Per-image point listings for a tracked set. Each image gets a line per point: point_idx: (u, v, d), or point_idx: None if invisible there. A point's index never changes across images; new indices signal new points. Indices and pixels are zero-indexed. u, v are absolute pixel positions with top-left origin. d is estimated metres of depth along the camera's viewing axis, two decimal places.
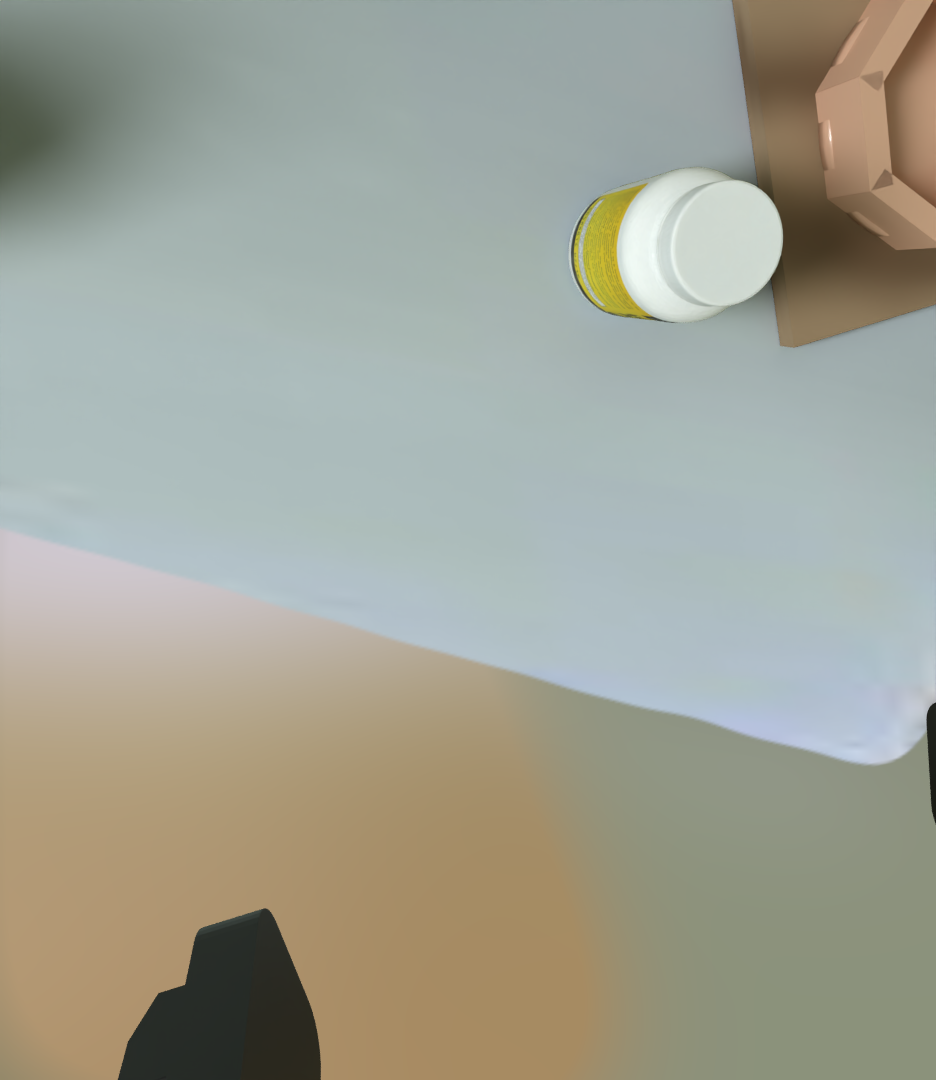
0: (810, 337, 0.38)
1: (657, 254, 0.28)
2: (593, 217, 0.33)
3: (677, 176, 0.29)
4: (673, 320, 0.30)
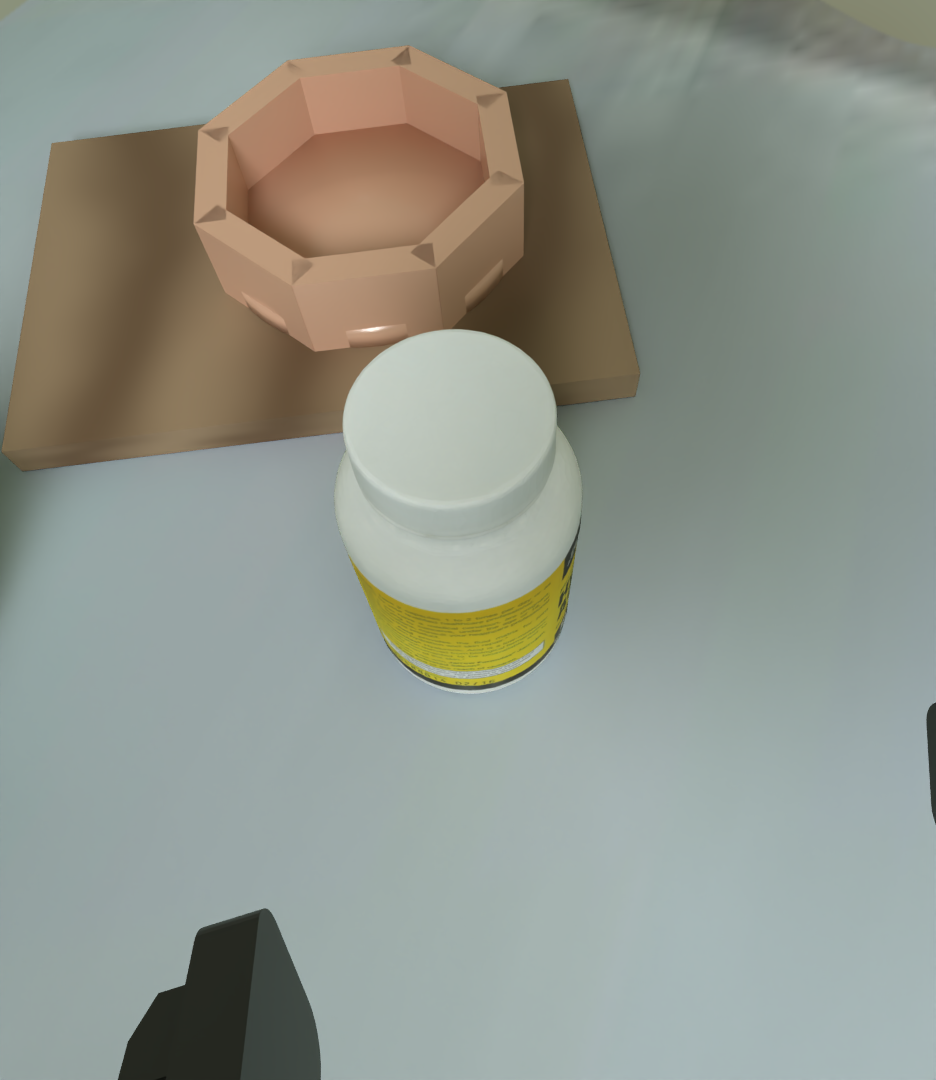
0: (627, 352, 0.26)
1: (451, 538, 0.15)
2: (402, 648, 0.21)
3: (341, 502, 0.17)
4: (575, 522, 0.17)
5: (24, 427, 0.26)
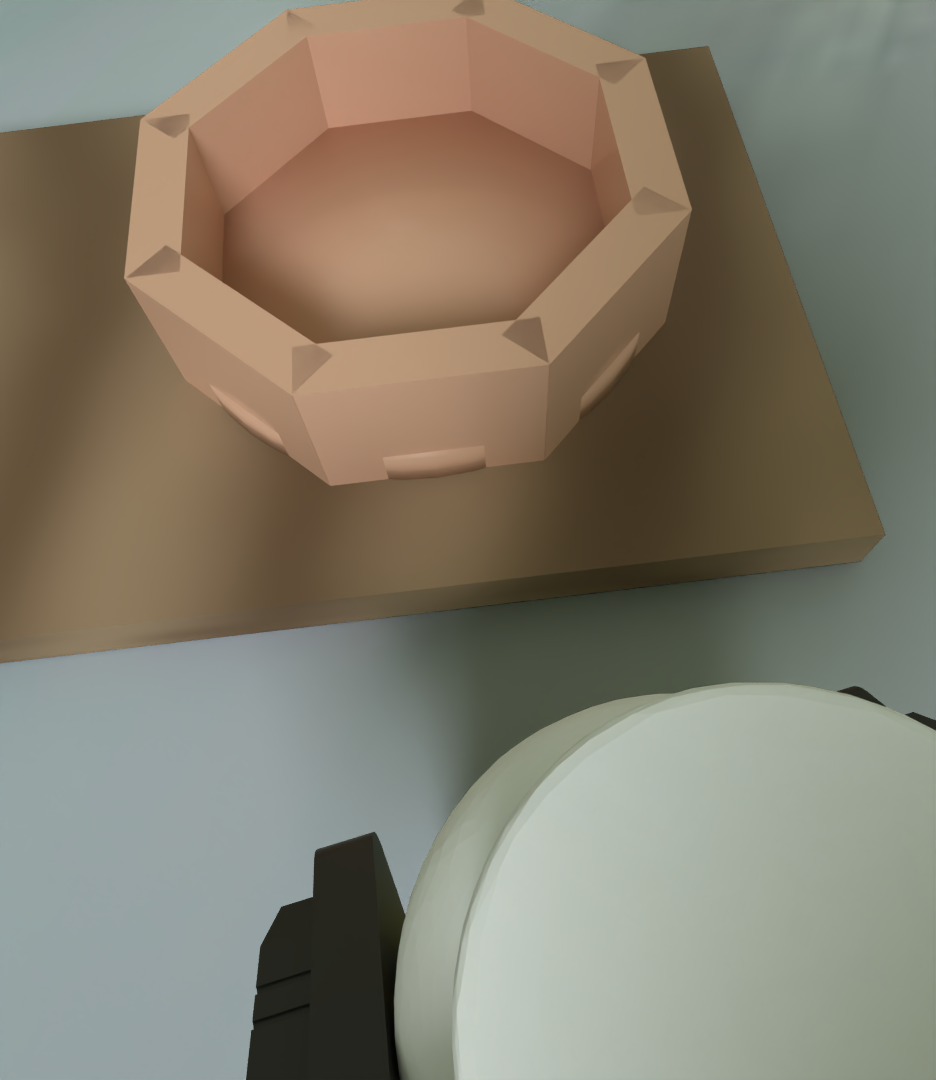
0: (858, 495, 0.15)
1: None
2: None
3: (417, 1074, 0.07)
4: None
5: None
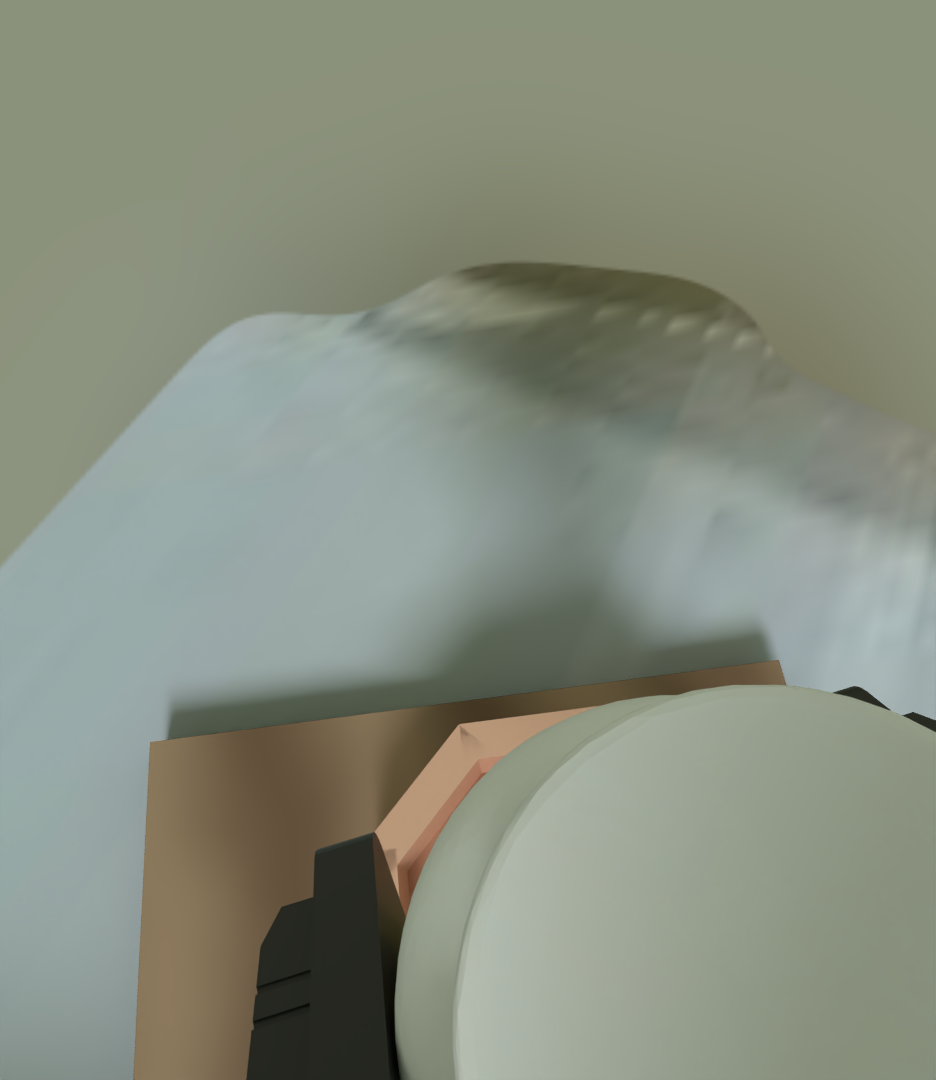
0: None
1: None
2: None
3: (417, 1075, 0.07)
4: None
5: None
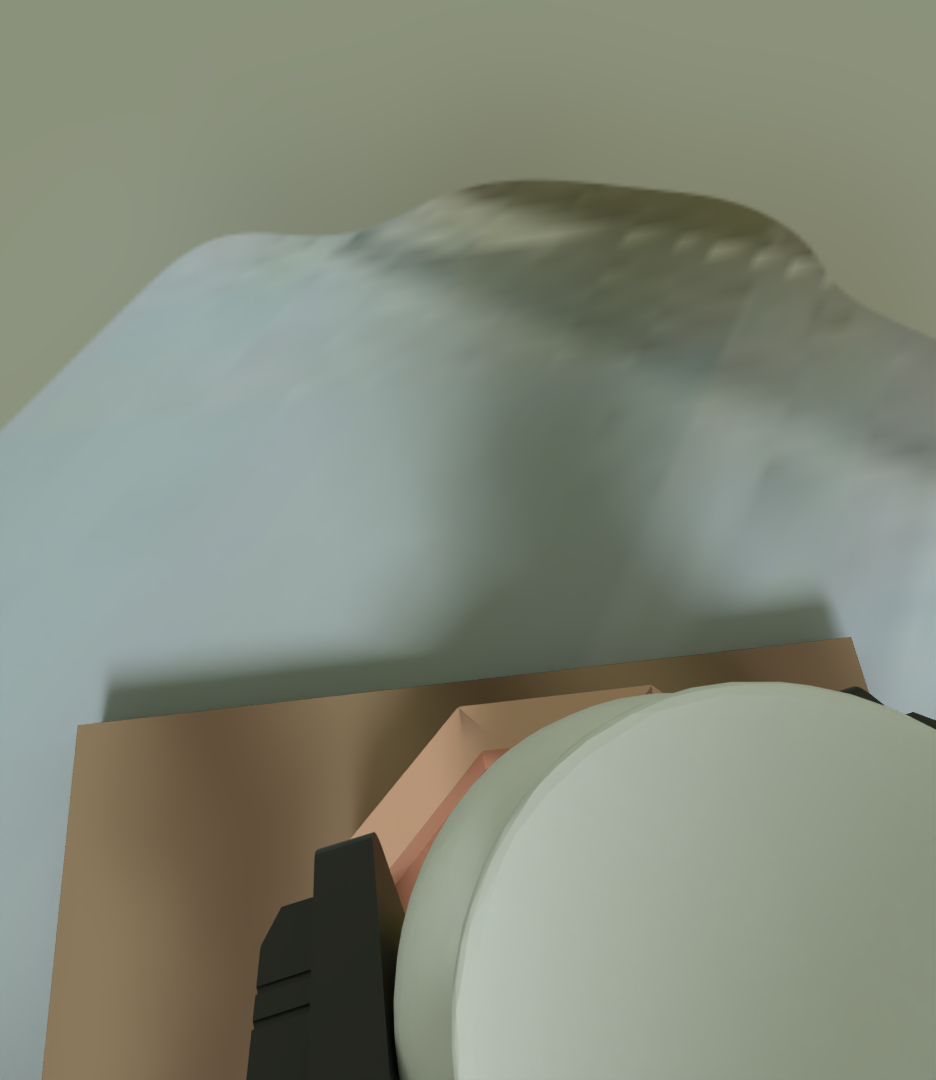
0: None
1: None
2: None
3: (416, 1072, 0.07)
4: None
5: None
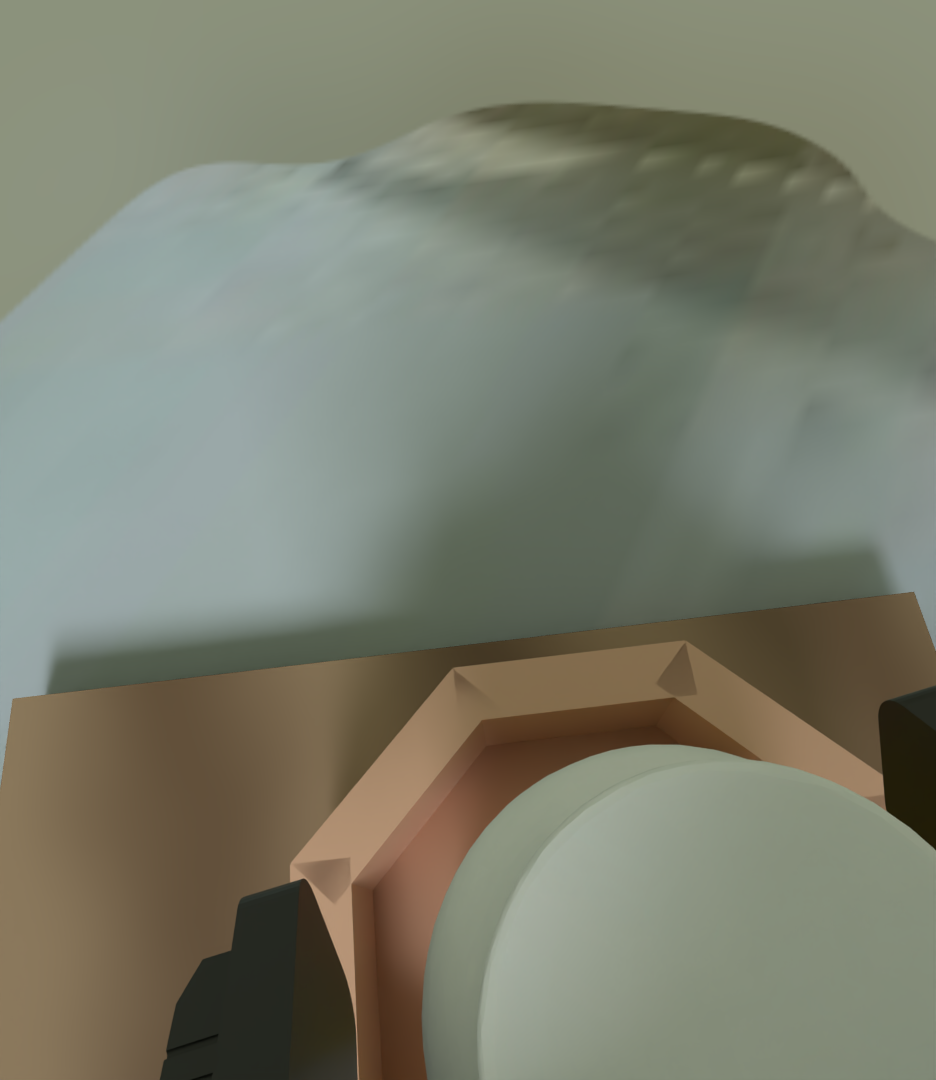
0: None
1: None
2: None
3: (443, 1078, 0.08)
4: None
5: None
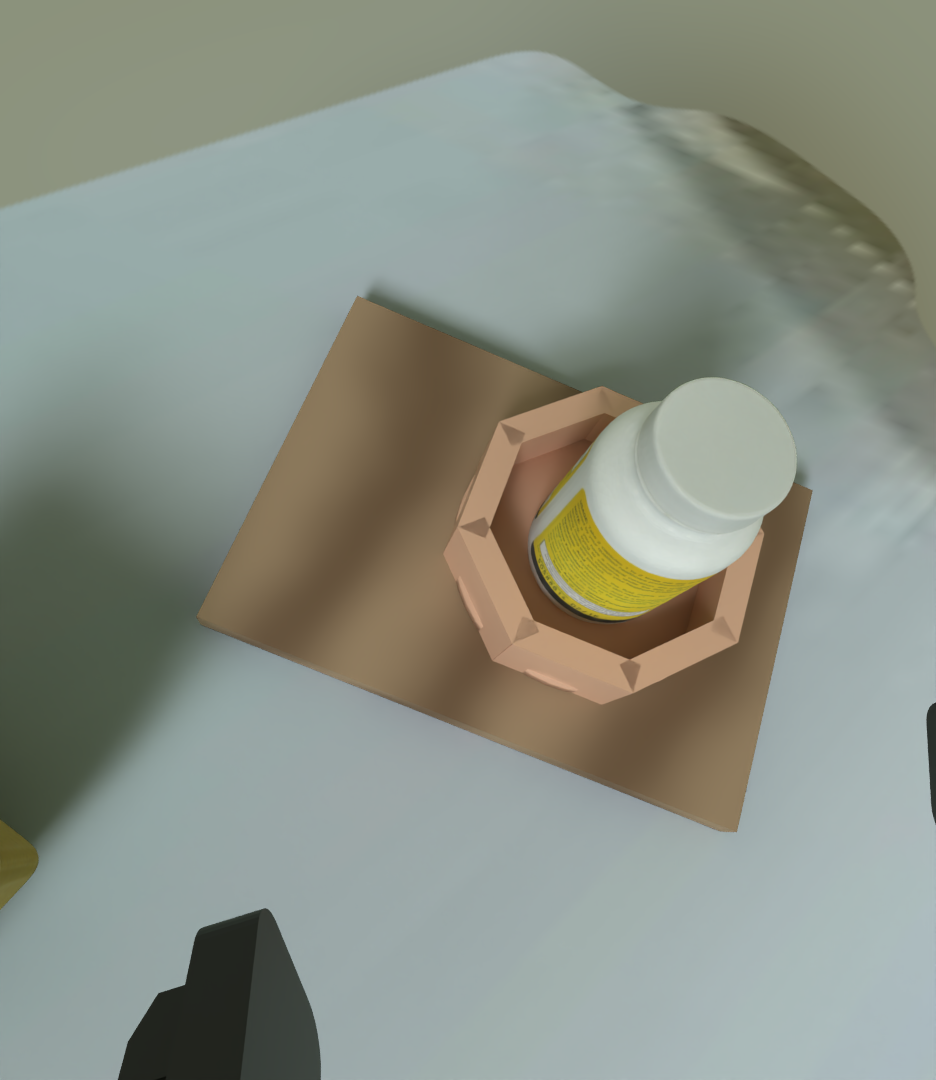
0: (736, 805, 0.29)
1: (679, 524, 0.22)
2: (556, 563, 0.27)
3: (604, 455, 0.23)
4: (744, 551, 0.23)
5: (224, 601, 0.28)
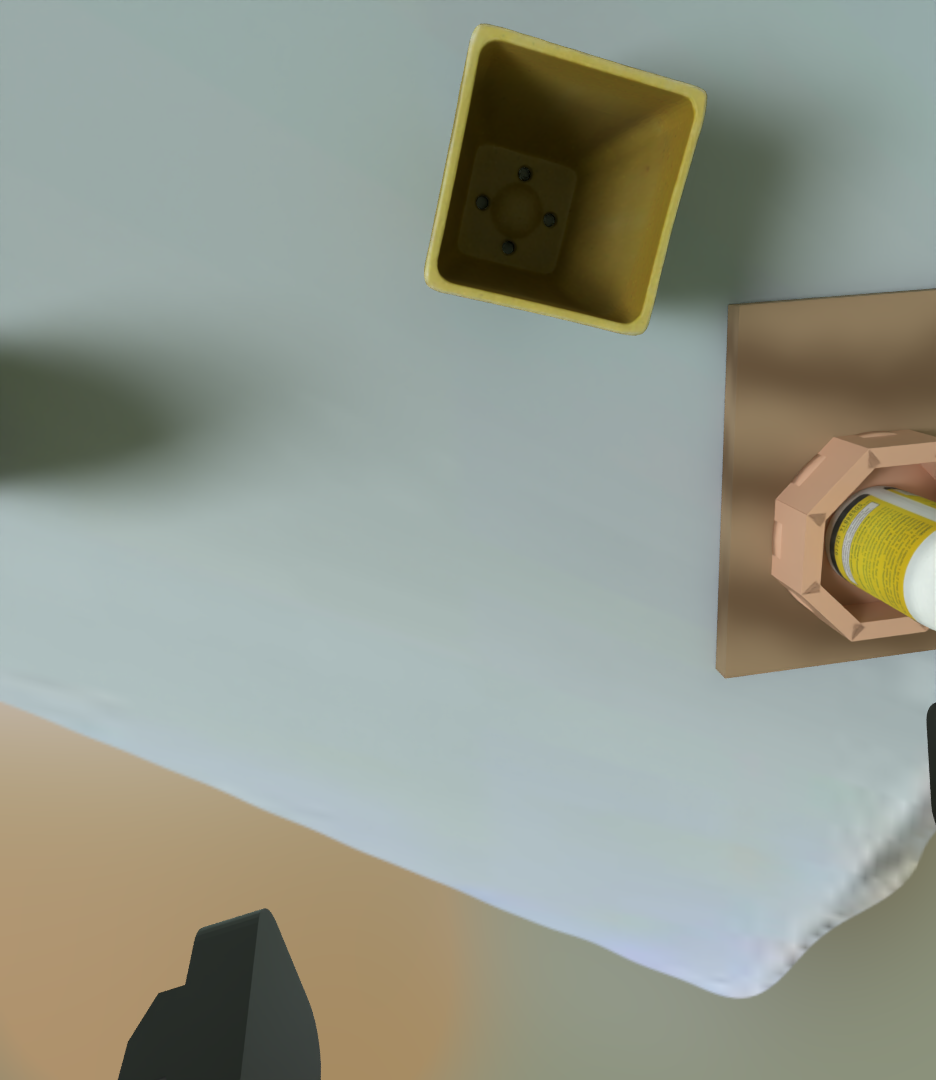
0: (739, 672, 0.46)
1: None
2: (868, 519, 0.40)
3: None
4: None
5: (755, 317, 0.40)
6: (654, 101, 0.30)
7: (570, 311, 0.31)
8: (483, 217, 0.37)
